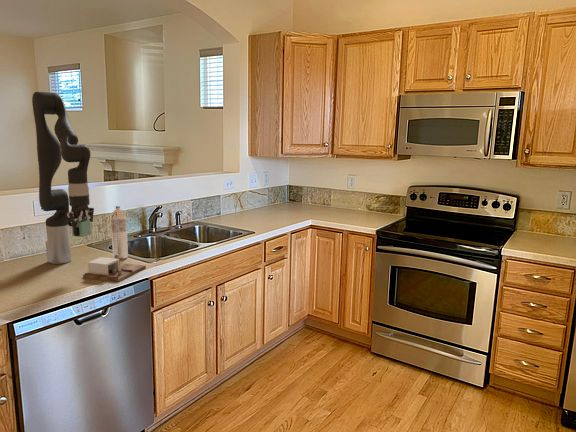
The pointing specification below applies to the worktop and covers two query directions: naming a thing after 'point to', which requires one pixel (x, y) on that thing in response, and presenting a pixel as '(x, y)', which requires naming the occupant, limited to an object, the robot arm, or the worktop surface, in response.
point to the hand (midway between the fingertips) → (81, 234)
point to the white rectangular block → (103, 265)
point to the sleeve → (84, 228)
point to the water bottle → (119, 233)
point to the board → (117, 272)
